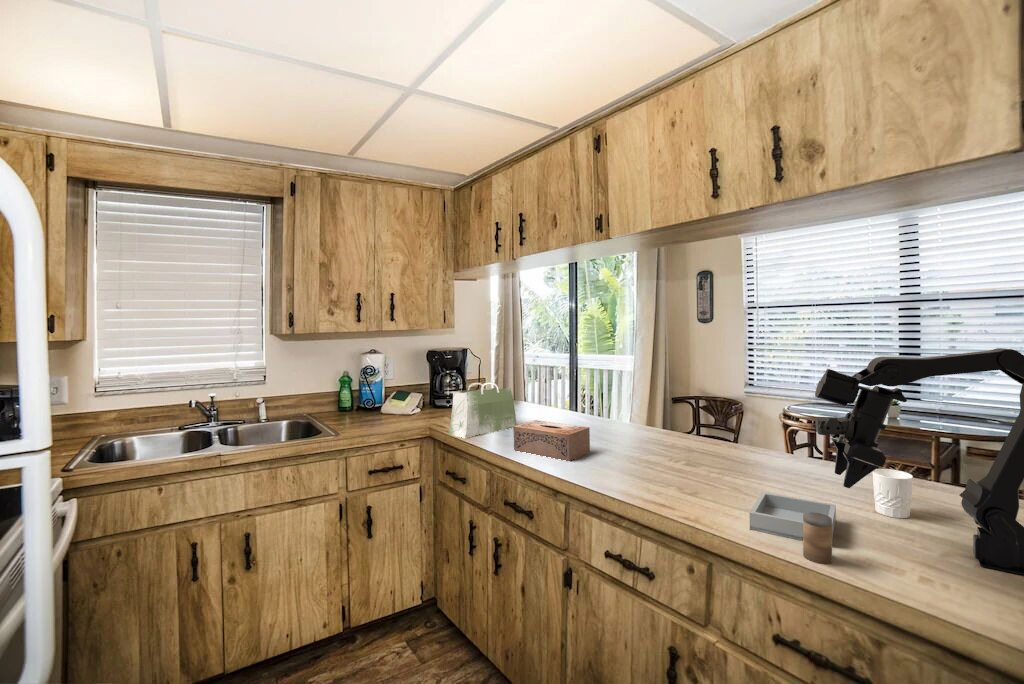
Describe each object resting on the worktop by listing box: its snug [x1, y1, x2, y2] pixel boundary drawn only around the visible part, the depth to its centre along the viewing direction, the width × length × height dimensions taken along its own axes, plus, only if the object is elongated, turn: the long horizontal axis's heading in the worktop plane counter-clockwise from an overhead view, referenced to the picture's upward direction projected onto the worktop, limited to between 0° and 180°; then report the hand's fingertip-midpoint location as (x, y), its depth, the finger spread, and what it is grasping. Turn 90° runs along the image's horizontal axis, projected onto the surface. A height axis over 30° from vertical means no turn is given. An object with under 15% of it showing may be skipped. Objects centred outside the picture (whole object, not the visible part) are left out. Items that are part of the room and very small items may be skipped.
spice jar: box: [802, 512, 833, 565], centre depth 98 cm, size 5×5×8 cm
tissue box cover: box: [512, 419, 591, 462], centre depth 184 cm, size 26×14×10 cm, turn 50°
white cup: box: [871, 468, 914, 519], centre depth 118 cm, size 8×8×10 cm
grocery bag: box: [447, 381, 518, 439], centre depth 224 cm, size 32×14×23 cm, turn 133°
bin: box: [748, 491, 837, 542], centre depth 113 cm, size 16×16×4 cm
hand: (841, 480), depth 103 cm, fingers open, 9 cm apart
